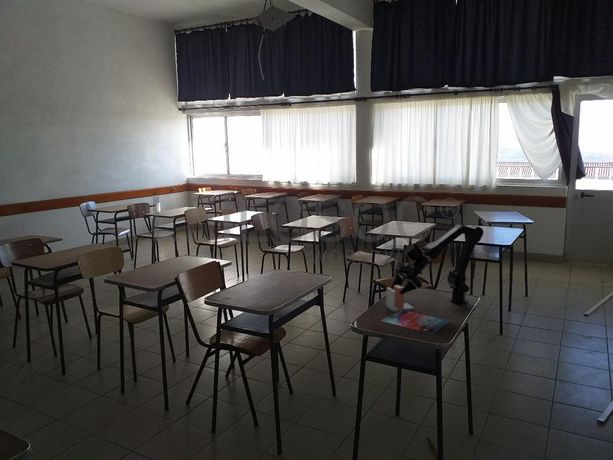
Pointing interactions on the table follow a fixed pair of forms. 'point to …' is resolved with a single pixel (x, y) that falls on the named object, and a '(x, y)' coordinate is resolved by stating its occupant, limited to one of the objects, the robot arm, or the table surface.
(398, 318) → the tablet
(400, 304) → the book
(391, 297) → the bookstand
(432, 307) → the table surface
